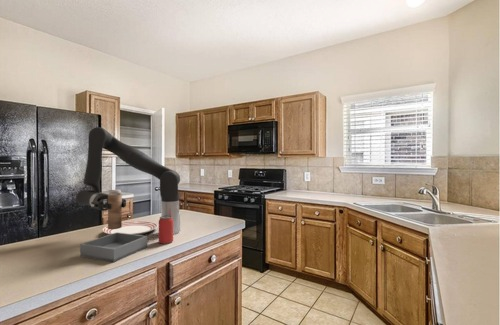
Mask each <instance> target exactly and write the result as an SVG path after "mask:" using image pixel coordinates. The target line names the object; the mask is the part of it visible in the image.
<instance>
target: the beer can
mask: <svg viewBox="0 0 500 325" xmlns="http://www.w3.org/2000/svg"><path fill="white" fill-rule="evenodd" d="M158 219H159V220H158V242H159V244H161V245H165V244H166V245H167V244H171V243H173V242H174V234H173V219H172V216H162V217H161V216H160V217H159V218H158Z"/></svg>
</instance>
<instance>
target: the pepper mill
mask: <svg viewBox="0 0 500 325" xmlns="http://www.w3.org/2000/svg"><path fill="white" fill-rule="evenodd" d="M108 194H109V195H108V203H109V204H111V209H108V210H107V226H108V229H119V228H121V227H122V222H123V219H122V218H123V216H122V215H123V214H122V213H123V210H122V209H123V207H122V199H123V198H122V197H123V196H122V191H121V189H110V190H108Z"/></svg>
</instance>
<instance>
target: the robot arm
mask: <svg viewBox="0 0 500 325" xmlns="http://www.w3.org/2000/svg"><path fill="white" fill-rule="evenodd" d="M103 149H104V150H106V151H108V152H110V153H112V154H114V155H115V156H116V157H118V158H119V160H121V161H122V162H124V163H125V164H127V165H129V166H131V168H134V169H136V170H138V171H140V172H143V173H146V174H149V175H151V176H153V177H155V178H156V179H158V180H159V195H160V201H161V202H160V203H161V204H160V205H161V206H160V207H161V208H160V209H161V212H160V214H161V216H160V217H162V216H172V219H173V235H177V234H179V233H180V231H181V213H180V195H179V184H180V182H181V177H180V175H179V173H178V171H175V170H173V169H171V168H168V167H167V166H164V165H162V164H160V163H159V162H158V161H156V160H155V159H153V158H152V157H151V156H149V155H148V154H146V153H144V152H143V151H142V150H139V149H138V148H135V147H134V146H131V145H128V144H126V143H123V142H122V141H121V140H119V139H118V138H116V137H115V136H113V135H112V134H111V133H110V132H109V131H108V130H106V129H105V128H103V127H100V126H99V127H98V126H97V127H93V128H91V130H90V131H89V133H88V148H87V151H88V152H87V162H86V167H85V172H84V178H83V185H85V186H88V187H90V188H91V189H92V190H87V189H81V190H79V191H78V192H76V194H75V201H76V202H77V204H79V205H81V206H82V205H84V206H89V207H90V208H91V209H95V210H100V211H104V212H105V211H106V212H107V211H108V209H111V204H109V203H108V195H109V193H105V192H101V186H100V185H101V184H100V181H101V178H102V173H103V172H102V171H103V168H102V154H103ZM126 206H127V200H126V199H125V198H122V209H123V208H126Z"/></svg>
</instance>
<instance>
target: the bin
mask: <svg viewBox="0 0 500 325" xmlns="http://www.w3.org/2000/svg"><path fill="white" fill-rule="evenodd" d="M79 244H80V246H79V249H80V253H79V254H80V258H81V257H82V258H89V259H94V260H99V261H105V262H110V263H115V262H118V261H120V260H123V259H125V258H127V257H130V256H131V255H134V254H135V253H138V252H141V251H142V250H145V249H146V248H147V249H148V244H149V243H148V235H143V234H142V235H134V234H126V233H118V232H116V233H113V234H110V235H109V234H106V235H104V236H102V237H98V238H95V239H92V240H88V241H85V242H82V243H79Z"/></svg>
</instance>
